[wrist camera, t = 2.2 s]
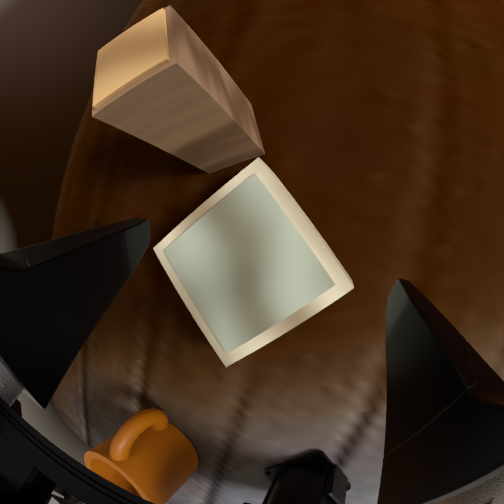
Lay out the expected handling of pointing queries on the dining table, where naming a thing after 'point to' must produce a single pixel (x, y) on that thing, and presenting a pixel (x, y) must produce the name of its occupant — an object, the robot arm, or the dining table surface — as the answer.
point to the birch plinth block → (251, 264)
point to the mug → (145, 457)
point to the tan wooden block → (174, 94)
